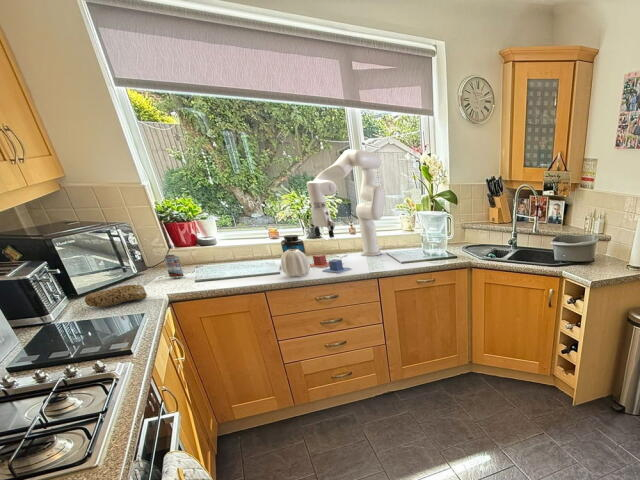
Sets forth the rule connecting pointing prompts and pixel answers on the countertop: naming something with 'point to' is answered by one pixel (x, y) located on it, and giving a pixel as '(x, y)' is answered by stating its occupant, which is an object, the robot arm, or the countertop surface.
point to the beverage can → (173, 266)
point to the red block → (319, 259)
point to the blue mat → (336, 271)
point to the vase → (295, 263)
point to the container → (292, 243)
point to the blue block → (335, 265)
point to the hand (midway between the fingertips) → (325, 236)
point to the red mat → (319, 265)
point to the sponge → (115, 296)
